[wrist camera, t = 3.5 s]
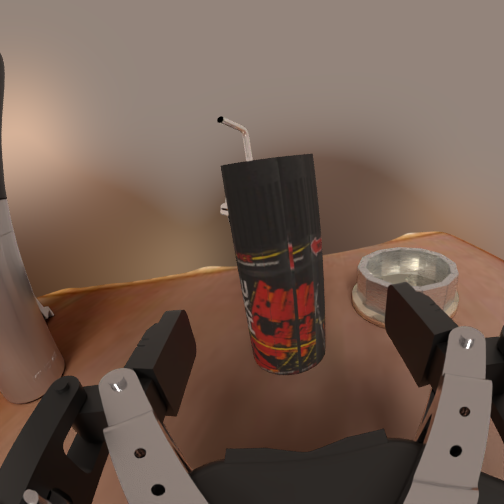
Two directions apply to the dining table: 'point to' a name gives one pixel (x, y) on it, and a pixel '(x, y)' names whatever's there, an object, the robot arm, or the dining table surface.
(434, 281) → the silver bowl
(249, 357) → the dining table surface
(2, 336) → the robot arm
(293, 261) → the deodorant
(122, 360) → the dining table surface
